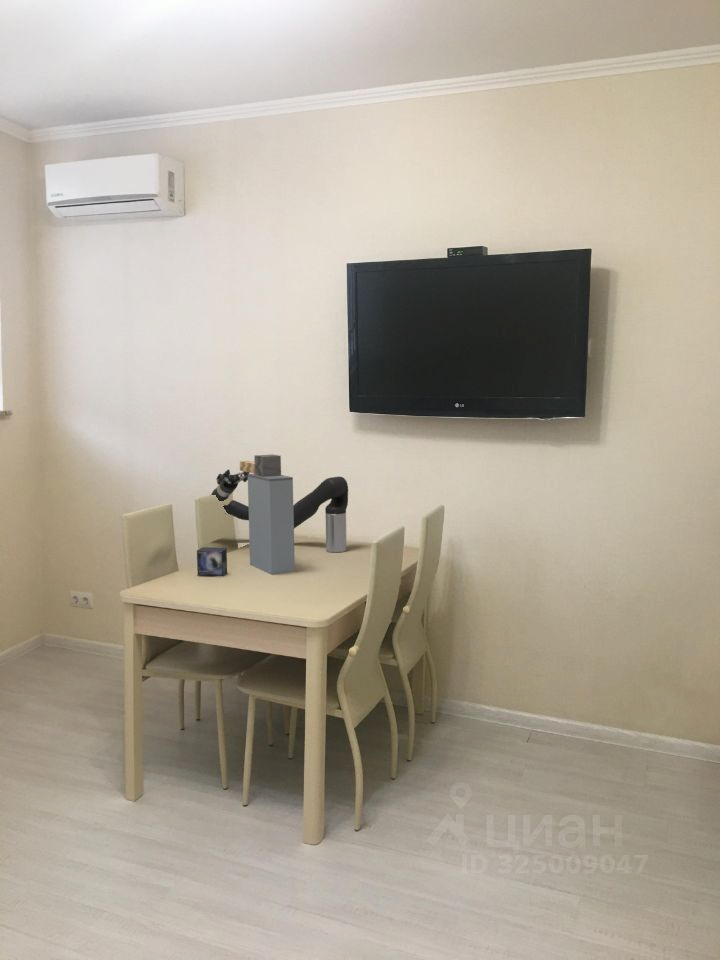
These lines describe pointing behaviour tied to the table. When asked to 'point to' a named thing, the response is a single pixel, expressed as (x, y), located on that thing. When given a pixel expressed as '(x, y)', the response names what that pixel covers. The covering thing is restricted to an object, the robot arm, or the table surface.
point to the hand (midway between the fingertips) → (238, 470)
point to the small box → (212, 561)
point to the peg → (263, 465)
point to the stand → (271, 523)
